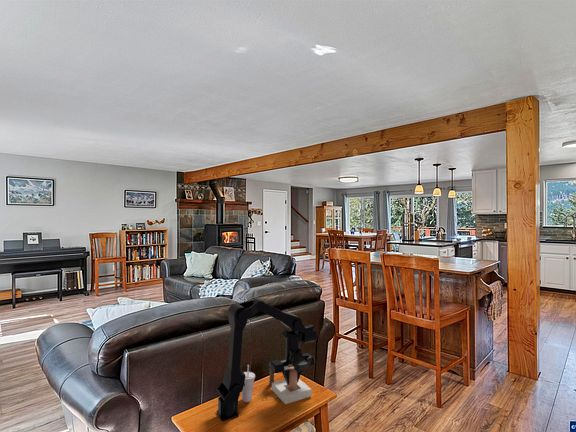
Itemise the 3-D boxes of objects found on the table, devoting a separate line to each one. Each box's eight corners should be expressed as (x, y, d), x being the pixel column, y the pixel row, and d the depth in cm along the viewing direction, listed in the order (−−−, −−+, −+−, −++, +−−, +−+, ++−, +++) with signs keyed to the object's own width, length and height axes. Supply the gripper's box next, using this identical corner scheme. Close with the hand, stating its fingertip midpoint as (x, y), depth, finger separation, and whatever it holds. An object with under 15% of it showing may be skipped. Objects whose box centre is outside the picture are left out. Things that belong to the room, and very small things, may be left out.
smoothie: (247, 405, 128) (247, 369, 128) (235, 400, 132) (235, 365, 132) (258, 398, 133) (258, 363, 133) (246, 393, 137) (247, 359, 137)
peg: (290, 391, 134) (290, 371, 134) (285, 387, 138) (285, 367, 138) (298, 389, 136) (299, 369, 136) (294, 384, 140) (294, 365, 140)
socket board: (285, 404, 130) (285, 396, 130) (271, 389, 140) (271, 382, 140) (311, 396, 135) (311, 389, 135) (296, 383, 146) (296, 376, 146)
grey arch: (272, 388, 142) (273, 367, 142) (268, 383, 145) (269, 363, 145) (293, 382, 146) (293, 362, 146) (289, 378, 150) (289, 359, 150)
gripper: (281, 357, 125) (281, 398, 125) (322, 348, 134) (322, 387, 134) (269, 346, 135) (268, 385, 135) (308, 339, 144) (307, 375, 144)
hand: (292, 383), depth 137 cm, fingers closed on peg, 4 cm apart
